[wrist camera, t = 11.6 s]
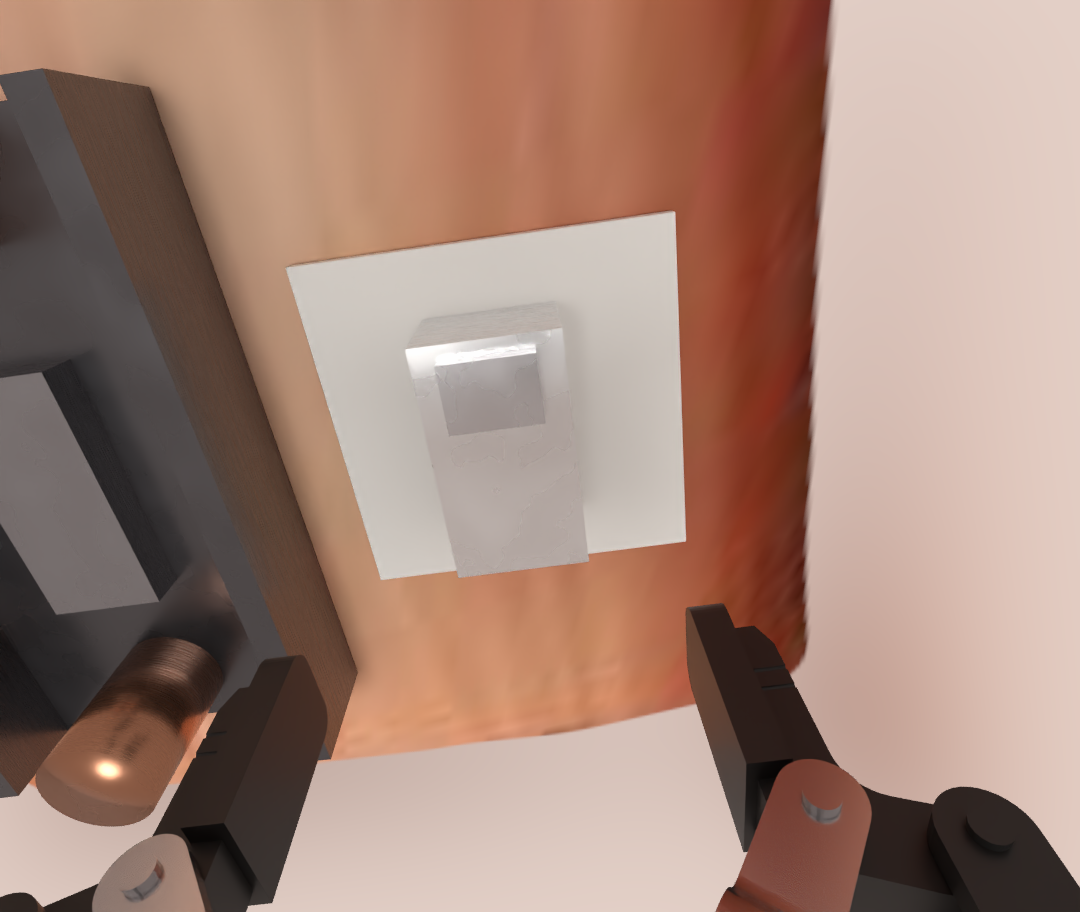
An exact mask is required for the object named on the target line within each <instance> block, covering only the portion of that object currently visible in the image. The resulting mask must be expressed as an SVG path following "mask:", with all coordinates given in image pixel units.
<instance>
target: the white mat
mask: <svg viewBox="0 0 1080 912" xmlns="http://www.w3.org/2000/svg"><path fill="white" fill-rule="evenodd" d="M286 271H287V274H288V277H289V281H290V284H291V287H292V290H293V294H294V297H295V300H296V304H297V307H298V310H299V313H300V317H301V320H302V323H303V326H304V330H305V333H306V336H307V339H308V343H309V346H310V349H311V353H312V356H313V359H314V362H315V366H316V369H317V372H318V375H319V379H320V382H321V385H322V388H323V392H324V395H325V398H326V402H327V405H328V408H329V411H330V415H331V418H332V421H333V424H334V428H335V431H336V434H337V438H338V441H339V444H340V447H341V451H342V454H343V457H344V460H345V464H346V467H347V470H348V473H349V477H350V480H351V483H352V487H353V490H354V493H355V496H356V500H357V503H358V506H359V509H360V513H361V516H362V519H363V522H364V526H365V529H366V532H367V536H368V539H369V542H370V545H371V549H372V552H373V555H374V558H375V562H376V565H377V568H378V571H379V575H380V578H381V580H386V579H393V578H401V577H409V576H417V575H425V574H433V573H441V572H449V571H457V570H456V565H455V561H454V557H453V553H452V548H451V544H450V540H449V535H448V531H447V527H446V523H445V518H444V514H443V510H442V505H441V501H440V497H439V493H438V488H437V484H436V480H435V476H434V471H433V467H432V463H431V458H430V454H429V450H428V446H427V441H426V437H425V433H424V428H423V424H422V420H421V416H420V411H419V407H418V403H417V399H416V394H415V390H414V386H413V381H412V377H411V373H410V369H409V364H408V360H407V356H406V351H405V349H406V347H407V345H408V344H409V342H410V340H411V338H412V337H413V335H414V333H415V332H416V330H417V328H418V326H419V325H420V323H421V321H422V320H423V319H426V318H433V317H440V316H448V315H455V314H462V313H469V312H477V311H484V310H491V309H498V308H506V307H513V306H520V305H528V304H535V303H542V302H549V301H556V305H557V309H558V313H559V317H560V321H561V326H562V331H563V340H564V349H565V357H566V366H567V375H568V383H569V392H570V401H571V409H572V418H573V426H574V435H575V444H576V452H577V461H578V470H579V478H580V487H581V496H582V504H583V513H584V522H585V530H586V539H587V547H588V554H591V553H599V552H607V551H615V550H622V549H630V548H638V547H646V546H654V545H662V544H670V543H678V542H686V526H685V496H684V465H683V435H682V404H681V374H680V344H679V313H678V283H677V252H676V222H675V212H674V211H664V212H657V213H650V214H643V215H636V216H629V217H623V218H616V219H609V220H602V221H595V222H588V223H581V224H574V225H567V226H560V227H553V228H546V229H539V230H532V231H525V232H518V233H511V234H504V235H497V236H490V237H483V238H476V239H470V240H463V241H456V242H449V243H442V244H435V245H428V246H421V247H414V248H407V249H400V250H393V251H386V252H379V253H372V254H365V255H358V256H351V257H344V258H337V259H330V260H323V261H316V262H310V263H303V264H296V265H290V266H288V267H286Z"/></svg>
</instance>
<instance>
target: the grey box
mask: <svg viewBox="0 0 1080 912" xmlns="http://www.w3.org/2000/svg"><path fill="white" fill-rule="evenodd" d="M405 351H406V356H407V360H408V364H409V369H410V373H411V377H412V381H413V386H414V390H415V394H416V399H417V403H418V407H419V411H420V416H421V420H422V424H423V428H424V433H425V437H426V441H427V446H428V450H429V454H430V458H431V463H432V467H433V471H434V476H435V480H436V484H437V488H438V493H439V497H440V501H441V505H442V510H443V514H444V518H445V523H446V527H447V531H448V535H449V540H450V544H451V548H452V553H453V557H454V561H455V565H456V570H457V574H458V578H461V577H469V576H477V575H485V574H493V573H501V572H509V571H517V570H526V569H534V568H542V567H550V566H558V565H566V564H574V563H582V562H589V556H588V547H587V539H586V530H585V522H584V513H583V504H582V496H581V487H580V478H579V470H578V461H577V452H576V444H575V435H574V426H573V418H572V409H571V401H570V392H569V383H568V375H567V366H566V357H565V349H564V340H563V331H562V326H561V321H560V317H559V313H558V309H557V305H556V301H549V302H542V303H535V304H528V305H520V306H513V307H506V308H498V309H491V310H484V311H477V312H469V313H462V314H455V315H448V316H440V317H433V318H426V319H423V320H422V321H421V323H420V325H419V326H418V328H417V330H416V332H415V333H414V335H413V337H412V338H411V340H410V342H409V344H408V345H407V347H406V349H405Z"/></svg>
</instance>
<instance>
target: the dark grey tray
mask: <svg viewBox="0 0 1080 912" xmlns="http://www.w3.org/2000/svg"><path fill="white" fill-rule="evenodd" d="M0 84H1V86H2V89H3V91H4V93H5V95H6V98H7V101H0V798H4V797H12V796H19V794H20V793H21V792H22V791H23V789H24V788H25V787H26V786H27V784H28V783H29V782H30V780H31V779H32V778H33V777H34V775H35V774H36V786H37V789H38V791H39V793H40V794H41V796H42V797H43V798H44V799H45V801H46V802H47V803H48V804H49V805H51V806H52V807H53V808H55V809H56V810H57V811H59V812H61V813H62V814H64V815H66V816H68V817H70V818H73V819H75V820H78V821H81V822H84V823H89V824H93V825H99V826H124V825H130V824H133V823H136V822H139V821H141V820H143V819H145V818H146V817H147V816H149V815H150V814H151V813H152V812H153V810H154V808H155V806H156V805H157V803H158V801H159V800H160V798H161V796H162V794H163V792H164V791H165V789H166V787H167V785H168V783H169V782H170V780H171V778H172V776H173V774H174V773H175V771H176V769H177V767H178V765H179V764H180V762H181V760H182V758H183V756H184V755H185V753H186V751H187V749H188V747H189V746H190V744H191V742H192V740H193V739H194V737H195V735H196V733H197V731H198V730H199V728H200V726H201V724H202V722H203V721H204V719H205V717H206V715H207V713H214V712H218V710H219V709H220V708H221V707H222V706H223V705H224V704H225V703H226V702H227V701H228V700H229V698H230V697H231V696H232V695H233V694H234V693H235V692H236V691H237V690H238V689H239V688H245V687H249V686H250V684H251V682H252V680H253V678H254V675H255V673H256V671H257V669H258V667H259V665H260V664H261V663H262V661H264V660H265V659H270V658H278V657H286V656H294V655H303V656H304V657H305V658H306V659H307V661H308V663H309V666H310V668H311V671H312V673H313V675H314V678H315V680H316V683H317V685H318V687H319V690H320V692H321V695H322V697H323V699H324V702H325V705H326V708H327V717H328V722H327V732H326V736H325V739H324V742H323V746H322V749H321V752H320V755H319V758H318V760H327V759H331V757H332V753H333V750H334V747H335V744H336V741H337V737H338V734H339V731H340V728H341V725H342V721H343V718H344V715H345V712H346V709H347V705H348V702H349V699H350V696H351V693H352V689H353V686H354V683H355V680H356V676H357V670H356V667H355V664H354V661H353V658H352V656H351V653H350V650H349V647H348V644H347V642H346V639H345V636H344V633H343V630H342V628H341V625H340V622H339V619H338V616H337V614H336V611H335V608H334V605H333V602H332V600H331V597H330V594H329V591H328V588H327V586H326V583H325V580H324V577H323V574H322V572H321V569H320V566H319V563H318V560H317V558H316V555H315V552H314V549H313V546H312V543H311V541H310V538H309V535H308V532H307V529H306V527H305V524H304V521H303V518H302V515H301V513H300V510H299V507H298V504H297V501H296V499H295V496H294V493H293V490H292V487H291V485H290V482H289V479H288V476H287V473H286V471H285V468H284V465H283V462H282V459H281V457H280V454H279V451H278V448H277V445H276V443H275V440H274V437H273V434H272V431H271V428H270V426H269V423H268V420H267V417H266V414H265V412H264V409H263V406H262V403H261V400H260V398H259V395H258V392H257V389H256V386H255V384H254V381H253V378H252V375H251V372H250V370H249V367H248V364H247V361H246V358H245V356H244V353H243V350H242V347H241V344H240V342H239V339H238V336H237V333H236V330H235V328H234V325H233V322H232V319H231V316H230V313H229V311H228V308H227V305H226V302H225V299H224V297H223V294H222V291H221V288H220V285H219V283H218V280H217V277H216V274H215V271H214V269H213V266H212V263H211V260H210V257H209V255H208V252H207V249H206V246H205V243H204V241H203V238H202V235H201V232H200V229H199V227H198V224H197V221H196V218H195V215H194V213H193V210H192V207H191V204H190V201H189V198H188V196H187V193H186V190H185V187H184V184H183V182H182V179H181V176H180V173H179V170H178V168H177V165H176V162H175V159H174V156H173V154H172V151H171V148H170V145H169V142H168V140H167V137H166V134H165V131H164V128H163V126H162V123H161V120H160V117H159V114H158V112H157V109H156V106H155V103H154V100H153V97H152V95H151V92H150V89H149V87H144V86H139V85H133V84H127V83H122V82H116V81H110V80H105V79H99V78H93V77H88V76H82V75H76V74H71V73H65V72H59V71H54V70H48V69H36V70H30V71H23V72H17V73H10V74H4V75H0Z"/></svg>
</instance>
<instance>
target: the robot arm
mask: <svg viewBox="0 0 1080 912" xmlns="http://www.w3.org/2000/svg"><path fill="white" fill-rule="evenodd" d="M686 643H687V666H688V673H689V679H690V683H691V688H692V691H693V695H694V698H695V701H696V704H697V707H698V711H699V713H700V717H701V720H702V723H703V726H704V729H705V733H706V736H707V739H708V742H709V745H710V748H711V751H712V754H713V758H714V761H715V764H716V767H717V770H718V773H719V777H720V780H721V783H722V786H723V789H724V792H725V795H726V799H727V802H728V805H729V808H730V811H731V814H732V817H733V820H734V824H735V827H736V830H737V833H738V836H739V839H740V842H741V846H742V849H743V852H748V853H747V855H746V858H745V860H744V863H743V865H742V868H741V871H740V873H739V876H738V878H737V880H736V882H735V885H734V886H733V887H732V888H731V887H728V888H727V889H726V891H725V893H724V894H723V896H722V898H721V900H720V903H719V905H718V907H717V909H716V912H1080V887H1079V886H1078V884H1077V883H1076V881H1075V880H1074V878H1073V877H1072V876H1071V874H1070V873H1069V872H1068V870H1067V868H1066V867H1065V865H1064V864H1063V863H1062V861H1061V860H1060V858H1059V857H1058V855H1057V854H1056V852H1055V851H1054V850H1053V848H1052V847H1051V845H1050V844H1049V842H1048V841H1047V839H1046V838H1045V836H1044V835H1043V834H1042V832H1041V831H1040V829H1039V828H1038V827H1037V825H1036V824H1035V823H1034V822H1033V821H1032V820H1031V819H1030V818H1029V816H1028V815H1027V814H1026V813H1024V812H1023V811H1022V810H1021V809H1019V808H1018V807H1017V806H1016V805H1014V804H1012V803H1011V802H1009V801H1008V800H1006V799H1004V798H1002V797H1001V796H999V795H996V794H994V793H991V792H989V791H986V790H982V789H979V788H973V787H956V788H951V789H949V790H946V791H944V792H943V793H941V794H940V795H939V796H938V797H937V799H936V801H935V803H934V804H929V803H923V802H918V801H912V800H907V799H902V798H897V797H892V796H888V795H884V794H880V793H877V792H875V791H872V790H870V789H868V788H866V787H864V786H862V785H861V784H859V783H858V782H857V781H856V779H855V778H853V777H852V776H851V775H850V774H849V773H847V772H846V771H844V770H843V769H841V768H840V767H839V766H838V765H837V763H836V762H835V761H834V759H833V757H832V756H831V754H830V752H829V750H828V749H827V746H826V744H825V743H824V740H823V738H822V737H821V735H820V733H819V731H818V729H817V727H816V725H815V723H814V721H813V719H812V717H811V715H810V713H809V711H808V709H807V707H806V705H805V703H804V701H803V699H802V697H801V695H800V693H799V691H798V689H797V688H795V685H794V682H793V680H792V678H791V676H790V674H789V672H788V670H787V669H786V668H785V664H784V662H783V660H782V658H781V656H780V654H779V652H778V650H777V648H776V646H775V644H774V643H773V642H772V641H771V640H770V639H768V638H767V637H766V636H765V635H764V634H763V633H762V632H760V631H759V630H758V629H757V628H756V627H755V626H749V627H741V628H735V627H734V625H733V623H732V620H731V618H730V616H729V614H728V611H727V609H726V607H725V606H724V604H722V603H719V604H711V605H703V606H695V607H687V608H686ZM327 722H328V717H327V708H326V705H325V702H324V699H323V697H322V695H321V692H320V690H319V687H318V685H317V683H316V680H315V678H314V675H313V673H312V671H311V668H310V666H309V663H308V661H307V659H306V658H305V657H304V656H303V655H294V656H286V657H278V658H270V659H265V660H264V661H262V663H261V664H260V665H259V667H258V669H257V671H256V673H255V675H254V678H253V680H252V682H251V684H250V686H249V687H245V688H239V689H238V690H237V691H236V692H235V693H234V694H233V695H232V696H231V697H230V698H229V700H228V701H227V702H226V703H225V704H224V705H223V706H222V707H221V708H220V709H219V710H218V712H217V714H216V716H215V718H214V720H213V722H212V724H211V726H210V727H209V729H208V731H207V733H206V738H205V739H203V741H202V743H201V745H200V747H199V749H198V750H197V752H196V758H193V760H192V762H191V764H190V766H189V768H188V770H187V772H186V773H185V775H184V777H183V779H182V781H181V783H180V785H179V787H178V789H177V791H176V793H175V795H174V796H173V798H172V800H171V802H170V804H169V806H168V808H167V810H166V812H165V814H164V816H163V818H162V820H161V821H160V823H159V825H158V827H157V829H156V831H155V833H154V834H153V836H152V837H150V838H148V839H146V840H143V841H141V842H140V843H138V844H136V845H135V846H133V847H132V848H130V849H129V850H128V851H126V852H125V853H124V854H123V855H121V856H120V857H119V858H118V859H117V860H116V861H115V862H114V863H113V864H112V865H111V867H110V868H109V869H108V870H107V872H106V873H105V875H104V876H103V877H102V879H101V881H100V882H99V884H96V885H94V886H92V887H90V888H88V889H85V890H83V891H81V892H78V893H76V894H73V895H71V896H68V897H66V898H64V899H61V900H59V901H56V902H54V903H52V904H49V905H47V906H45V907H42V906H41V905H40V904H39V903H38V902H37V901H36V899H35V898H34V897H33V896H32V895H30V894H27V893H12V894H8V895H5V896H3V897H0V912H246V910H247V908H248V906H250V905H258V904H268V903H272V902H273V899H274V896H275V892H276V889H277V886H278V883H279V880H280V877H281V874H282V871H283V867H284V864H285V861H286V858H287V855H288V852H289V849H290V846H291V842H292V839H293V836H294V833H295V830H296V827H297V824H298V821H299V817H300V814H301V811H302V808H303V805H304V802H305V799H306V795H307V792H308V789H309V786H310V783H311V779H312V777H313V774H314V771H315V767H316V764H317V761H318V758H319V755H320V752H321V749H322V746H323V742H324V739H325V736H326V732H327Z"/></svg>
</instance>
